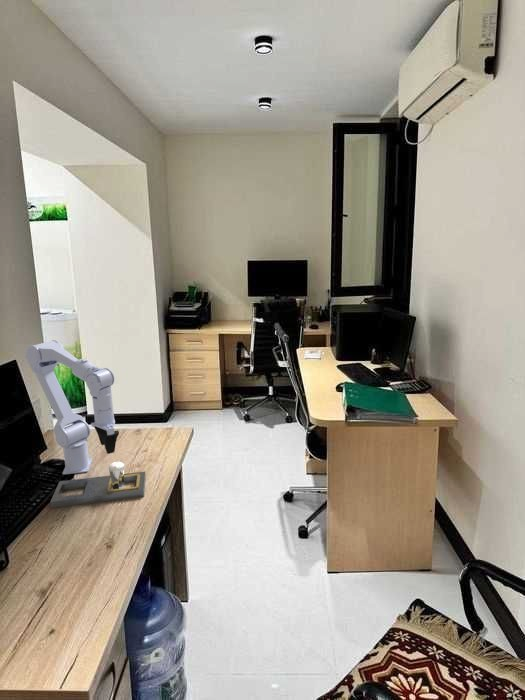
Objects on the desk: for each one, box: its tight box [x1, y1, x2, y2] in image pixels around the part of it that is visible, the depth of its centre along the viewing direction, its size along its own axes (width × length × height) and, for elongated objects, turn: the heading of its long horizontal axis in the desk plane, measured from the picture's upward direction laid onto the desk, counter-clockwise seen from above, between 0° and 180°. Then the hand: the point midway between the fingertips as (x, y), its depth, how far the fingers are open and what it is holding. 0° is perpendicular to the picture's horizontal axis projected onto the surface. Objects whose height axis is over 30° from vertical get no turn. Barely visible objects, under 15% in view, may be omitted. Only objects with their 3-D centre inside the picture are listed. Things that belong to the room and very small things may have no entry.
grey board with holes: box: [49, 471, 147, 509], centre depth 141 cm, size 12×26×2 cm, turn 101°
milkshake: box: [108, 461, 126, 490], centre depth 140 cm, size 4×5×10 cm
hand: (107, 448), depth 147 cm, fingers open, 7 cm apart
